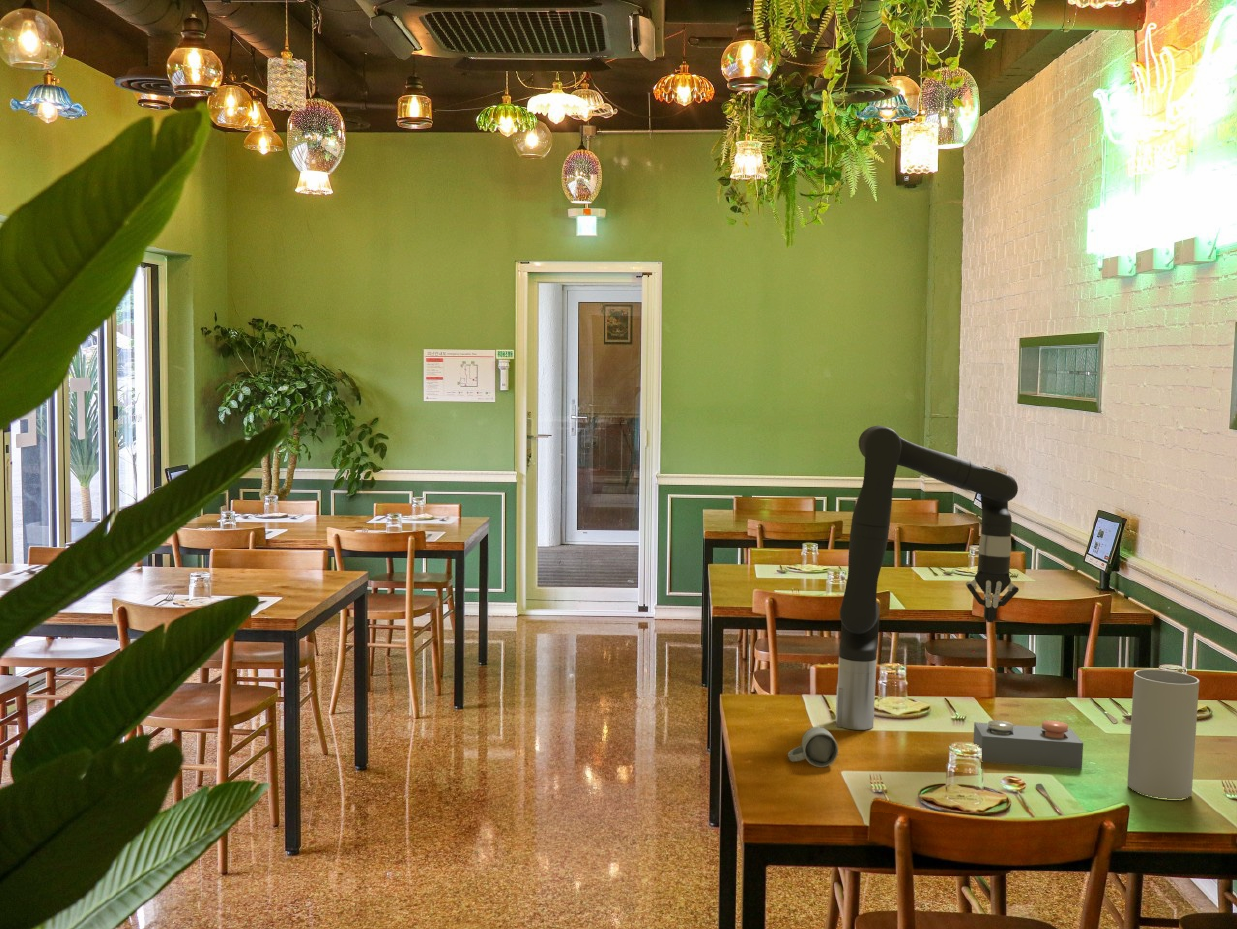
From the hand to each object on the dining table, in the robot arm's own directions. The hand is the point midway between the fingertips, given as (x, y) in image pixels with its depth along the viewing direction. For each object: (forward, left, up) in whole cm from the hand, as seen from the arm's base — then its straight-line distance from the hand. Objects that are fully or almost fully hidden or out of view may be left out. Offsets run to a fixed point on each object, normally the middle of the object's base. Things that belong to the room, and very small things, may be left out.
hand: (989, 621), depth 285 cm
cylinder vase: (+30, -38, -28) cm, 56 cm away
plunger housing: (+6, -21, -27) cm, 35 cm away
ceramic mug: (-43, -35, -28) cm, 62 cm away
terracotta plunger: (+12, -21, -25) cm, 35 cm away
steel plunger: (0, -21, -26) cm, 33 cm away
